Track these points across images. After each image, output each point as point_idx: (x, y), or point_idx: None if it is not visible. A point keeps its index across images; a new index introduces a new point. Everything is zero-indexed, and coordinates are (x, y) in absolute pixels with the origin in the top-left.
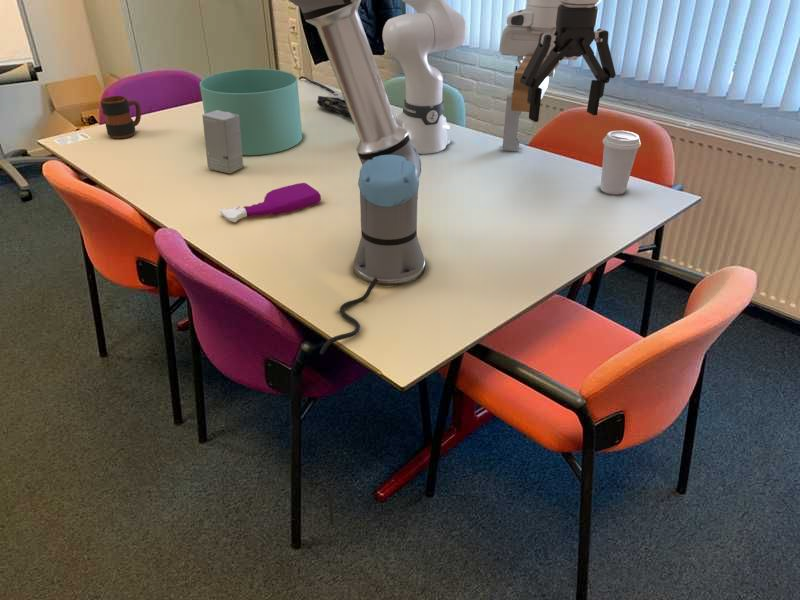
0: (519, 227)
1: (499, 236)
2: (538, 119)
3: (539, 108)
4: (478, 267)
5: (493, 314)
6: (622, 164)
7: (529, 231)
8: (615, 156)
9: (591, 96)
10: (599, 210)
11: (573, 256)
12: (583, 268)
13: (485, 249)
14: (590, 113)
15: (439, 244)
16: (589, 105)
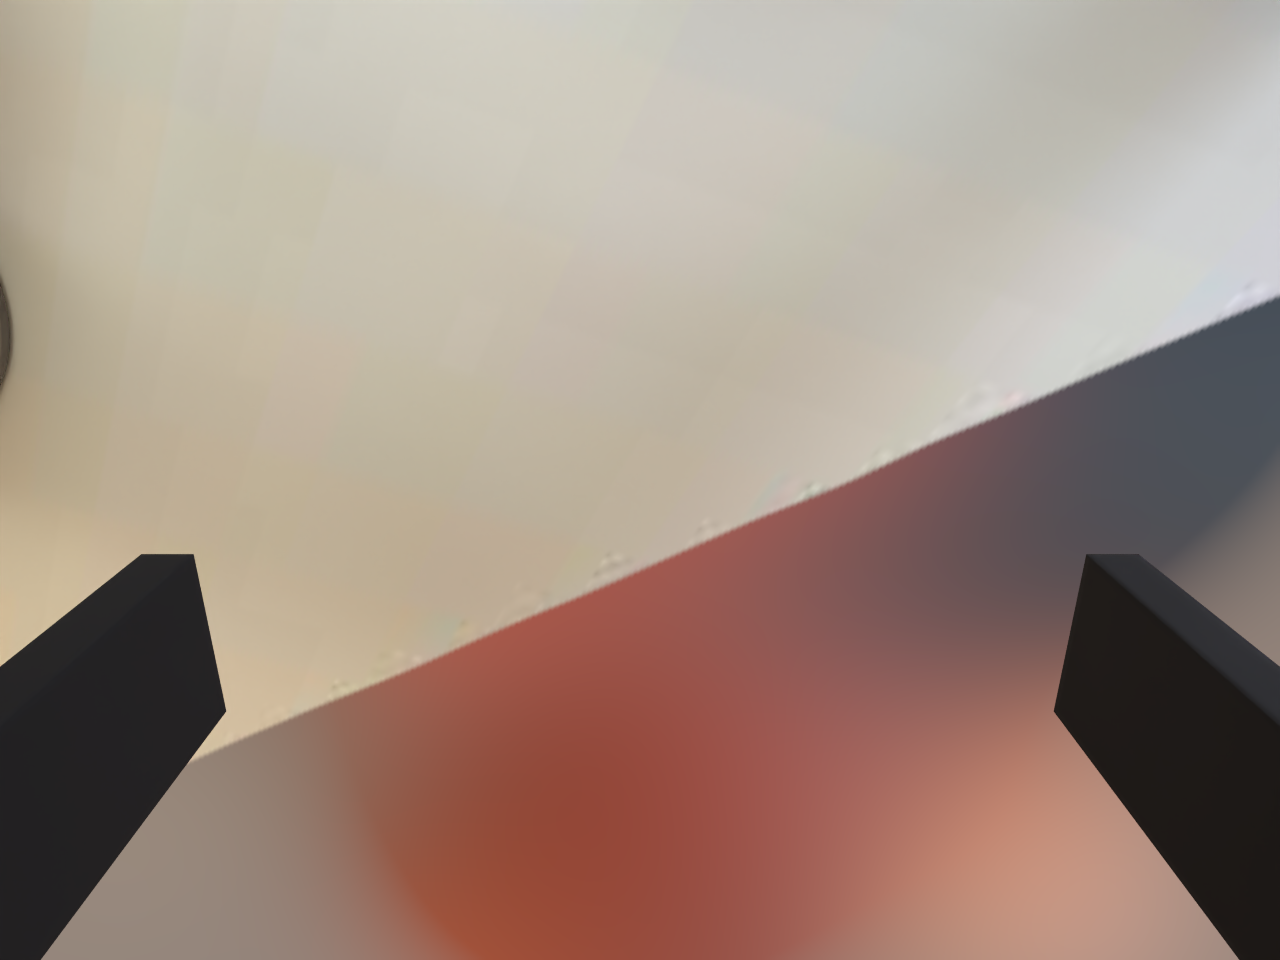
0: (598, 90)
1: (451, 157)
2: (212, 729)
3: (124, 838)
4: (256, 410)
5: (225, 704)
6: None
7: (628, 155)
8: None
9: (1223, 760)
10: (1152, 33)
11: (700, 451)
12: (683, 547)
13: (335, 267)
14: (1071, 641)
15: (116, 140)
16: (1132, 650)
